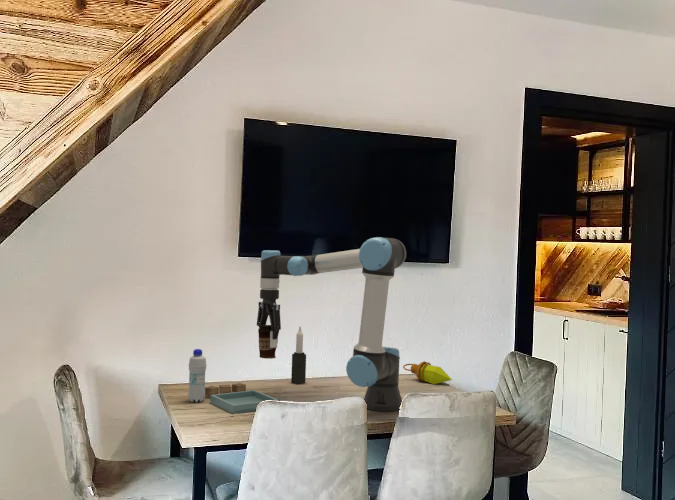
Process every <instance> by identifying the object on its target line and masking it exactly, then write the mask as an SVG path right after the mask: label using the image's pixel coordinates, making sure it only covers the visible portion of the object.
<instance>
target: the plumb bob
mask: <svg viewBox="0 0 675 500" xmlns="http://www.w3.org/2000/svg"><path fill="white" fill-rule="evenodd" d="M406 366H411V367H410V368H409V369H408V368H406ZM402 368H403V369H404V370H405V371H408V372H410V373H411V374H414V375H415V376H416V379H418V381H420V382H421V381H422V382H423V383H430V384H432V385H436V384H440V383H444V382H449V381H453V379H452V378H451V377H450V375H448V373H447V372H446V371H445V370H444V369H443V368H442V367H440V366H436V365H432V363H430V362H427V361H425V360H423V361H421V362H420V363H419V364H416V363H405V364H404V365H403V366H402Z"/></svg>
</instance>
